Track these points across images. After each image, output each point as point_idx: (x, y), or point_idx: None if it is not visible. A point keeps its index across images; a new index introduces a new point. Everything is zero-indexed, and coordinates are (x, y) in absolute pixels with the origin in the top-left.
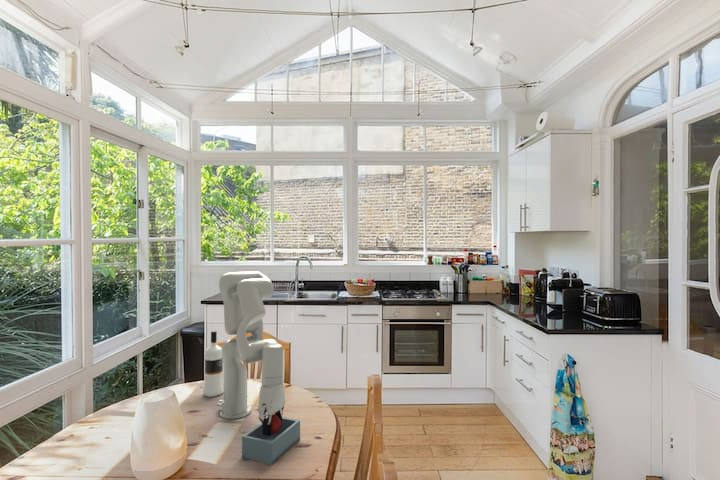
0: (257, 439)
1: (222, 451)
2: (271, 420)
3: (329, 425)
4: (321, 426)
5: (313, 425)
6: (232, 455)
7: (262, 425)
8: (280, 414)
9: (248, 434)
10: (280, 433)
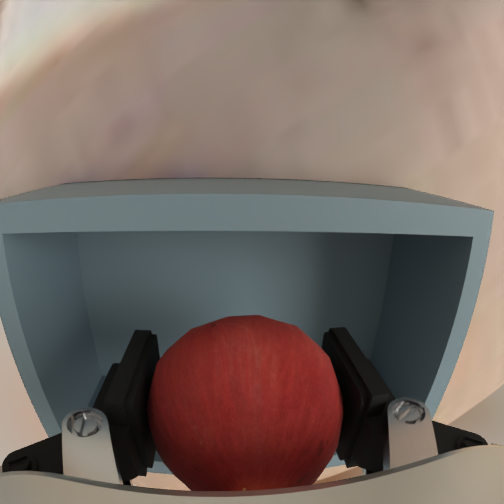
0: (18, 361)
1: (88, 24)
2: (181, 479)
3: (486, 390)
4: (483, 372)
5: (493, 340)
6: (65, 110)
7: (287, 229)
8: (362, 475)
9: (27, 232)
10: (392, 269)
